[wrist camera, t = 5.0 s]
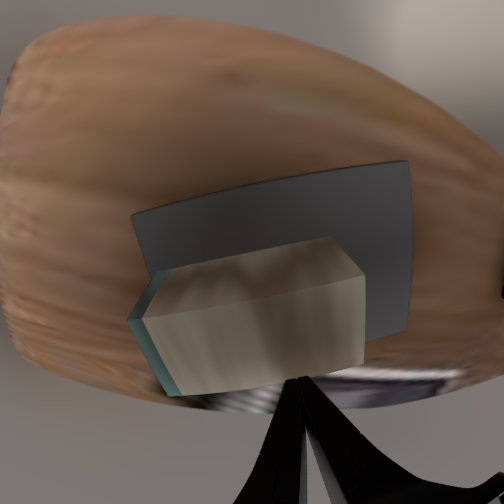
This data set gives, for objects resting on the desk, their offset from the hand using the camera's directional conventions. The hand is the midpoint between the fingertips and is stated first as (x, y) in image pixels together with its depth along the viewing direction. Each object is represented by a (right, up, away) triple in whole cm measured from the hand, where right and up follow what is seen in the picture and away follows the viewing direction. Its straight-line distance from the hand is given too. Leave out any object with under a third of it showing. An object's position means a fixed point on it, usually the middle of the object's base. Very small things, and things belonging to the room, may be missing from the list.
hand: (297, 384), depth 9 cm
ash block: (+3, +2, +4) cm, 6 cm away
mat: (+1, +3, +7) cm, 8 cm away
